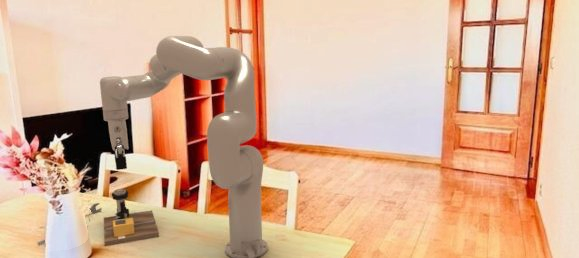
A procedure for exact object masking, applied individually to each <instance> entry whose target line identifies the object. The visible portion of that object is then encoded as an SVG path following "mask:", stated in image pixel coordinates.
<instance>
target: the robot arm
mask: <svg viewBox="0 0 579 258" xmlns="http://www.w3.org/2000/svg"><path fill="white" fill-rule="evenodd" d="M155 53H156V54H154V55H153V56H152V57H151V59H149V69H150V70H149V71H148V72H146V73H144V74H140V75H131V76H105V77H101V78H100V80H99V88H100V98H101V106H102V116H103V121H105V122H107V125H108V133H109V138H110V143H111V148H112V150H113V151H114V152H113V153H114V161H115V169H116V171H118V170H126V169H128V165H127V158H126V154H125V150H129V139H128V128H127V122H126V120H128V119H129V112H128V111H129V110H128V109H129V108H128V102H130V101H137V100H140V99H148V98H151V97H153V96H154V95H156V94H158V93H160V92H161V91H163V90H164V89H166V88H168V87H169V84H170V83H171V81H172V80H173V79H174V78H176V77H178V76H179V75H181V74H183V75H185V76H188V77H190V78H192V79H195V80H199V81H212V80H218V79H226V85H225V87H224V92H223V93H224V94H223V100H224V112H222V113H219V114H216V115H215V116H214V117H213V118H212V119H211V120H210V122H209V124H208V126H207V131H206V132H207V133H206V139H207V140H206V142H207V154H208V156H207V157H208V166H209V173H210V177H211V179H212V181H213V183H214V184H215V185H216V186H217V187H219V188H221V189H223V190H224V189H225V190H228V196H227V197H228V225H229V241H228V242H227V243H226V245H224V252H225V254H226V255H227V256H228V257H230V258H259V257H261V256H263V255H265V253H266V252H267V251H268V248H269V247H268V243H267V242H266V241H265V240H264V239H263V228H262V227H263V225H262V223H263V222H262V221H263V219H262V182H263V181H262V180H263V179H262V178H263V171H264V159H263V155H262V153H261V151H259V149H257V147H255V146H252V145H248V144H246V145H242V144H244V143H246V142H248V141H250V140H251V139H253V138H254V137H255V136H256V134H257V130H258V129H257V128H258V124H257V110H256V107H257V106H256V96H255V71H254V65H253V64H252V62H251V60H250V58H249V57H248V56H247V54H245V53H244V52H243V51H241V50H239V49H237V48H233V47H229V46H228V47H227V46H220V47H219V46H218V47H217V46H216V47H204V45H203V43H202V42H201V41H200V40H199V39H198V38H196V37H195V36H190V35H169V36H166V37H164V38H163V39H161V40H160V41H159V42H158V43H157V47H156V52H155Z"/></svg>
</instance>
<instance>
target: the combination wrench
mask: <svg viewBox="0 0 579 258" xmlns="http://www.w3.org/2000/svg"><path fill="white" fill-rule="evenodd" d="M99 205H100V202H97V203H96V202H95V203H93V204H92V205H91V206H90V207H89V209H90V210H91V212H92V213H91V214H98V213H100V212H101V210H102V209H103V208H102V207H100V208H98V209H97V207H98V206H99Z"/></svg>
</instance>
